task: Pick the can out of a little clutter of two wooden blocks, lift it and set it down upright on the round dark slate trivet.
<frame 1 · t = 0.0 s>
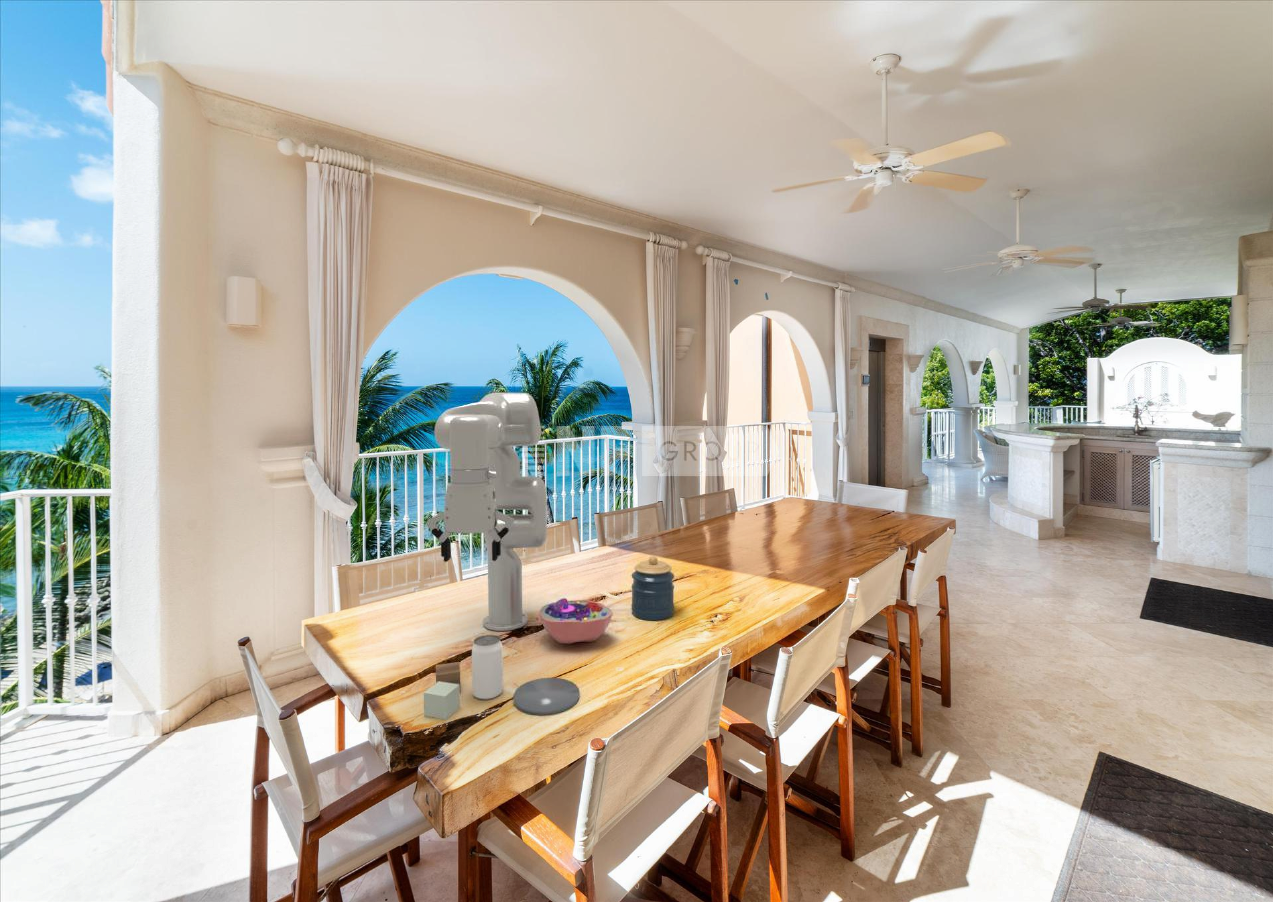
hand: (471, 559, 116), 31 cm above the table, fingers open, 9 cm apart
sage block: (442, 711, 116), on the table
walnut block: (448, 690, 125), on the table
can: (487, 693, 124), on the table
trivet: (546, 697, 122), on the table
canister: (652, 613, 172), on the table
cell model: (575, 641, 152), on the table
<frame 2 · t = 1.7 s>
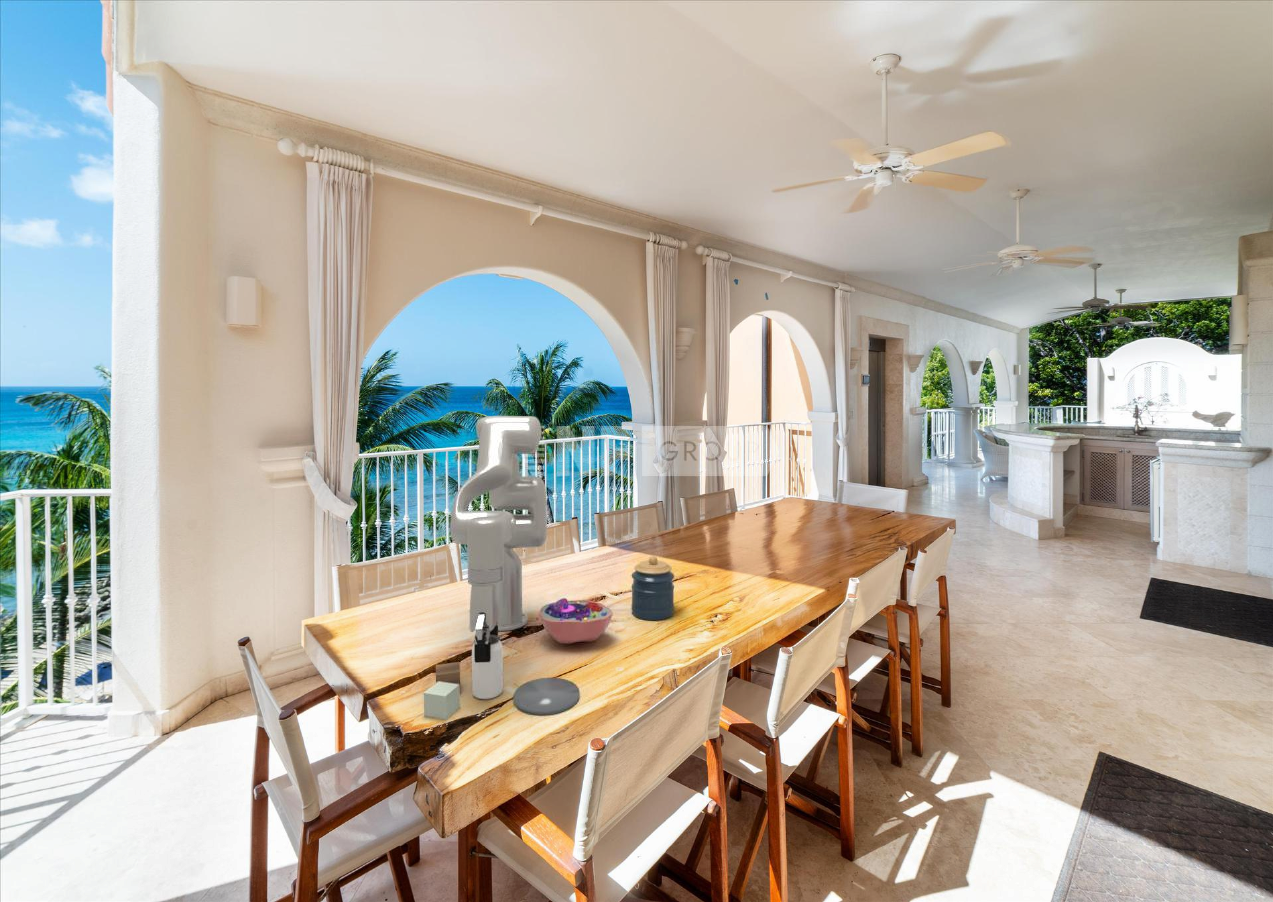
hand: (486, 652, 123), 9 cm above the table, fingers open, 9 cm apart
nothing on the table moved.
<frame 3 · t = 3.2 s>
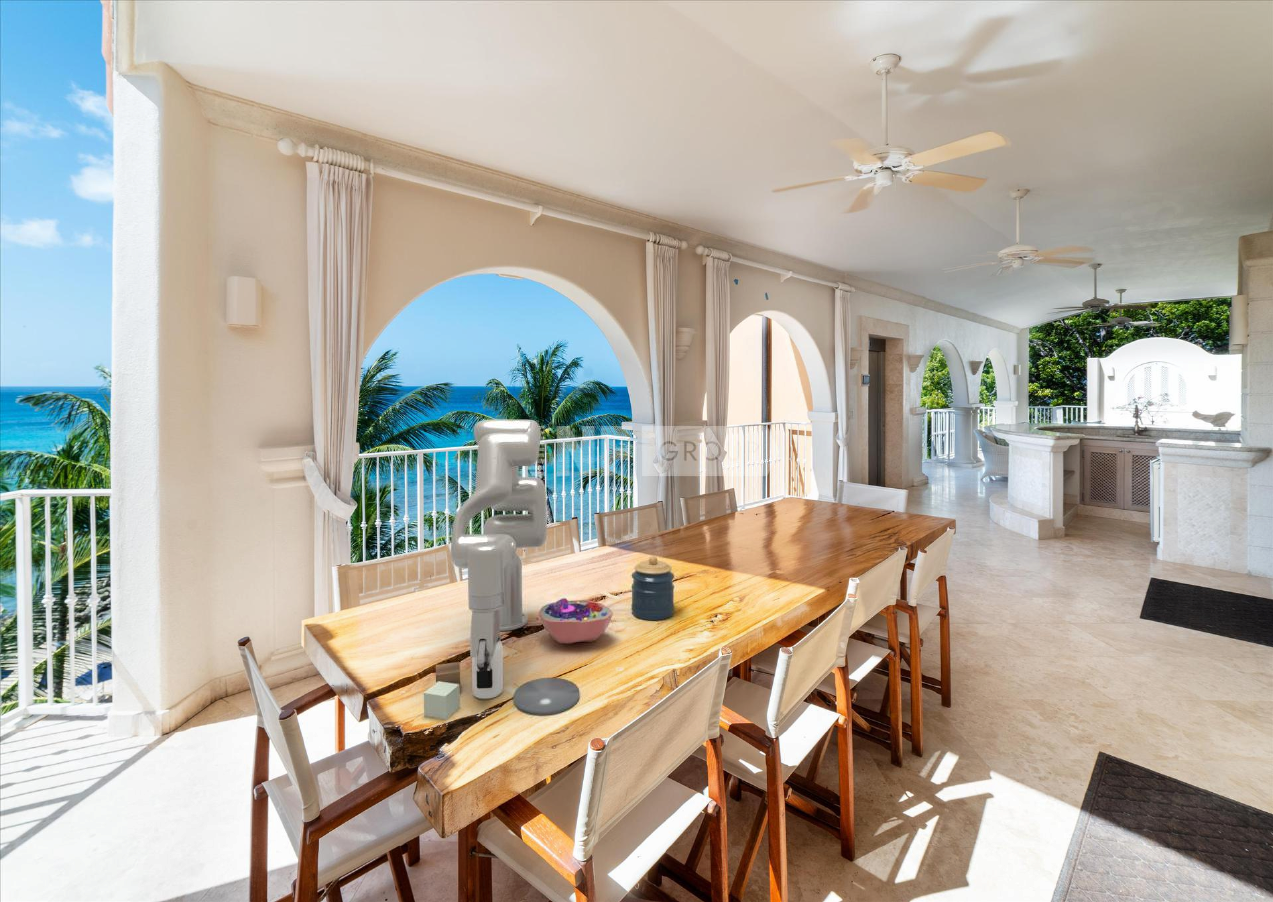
hand: (487, 678, 124), 3 cm above the table, fingers closed on can, 6 cm apart
can: (488, 693, 124), on the table, touching gripper
everything else where it was.
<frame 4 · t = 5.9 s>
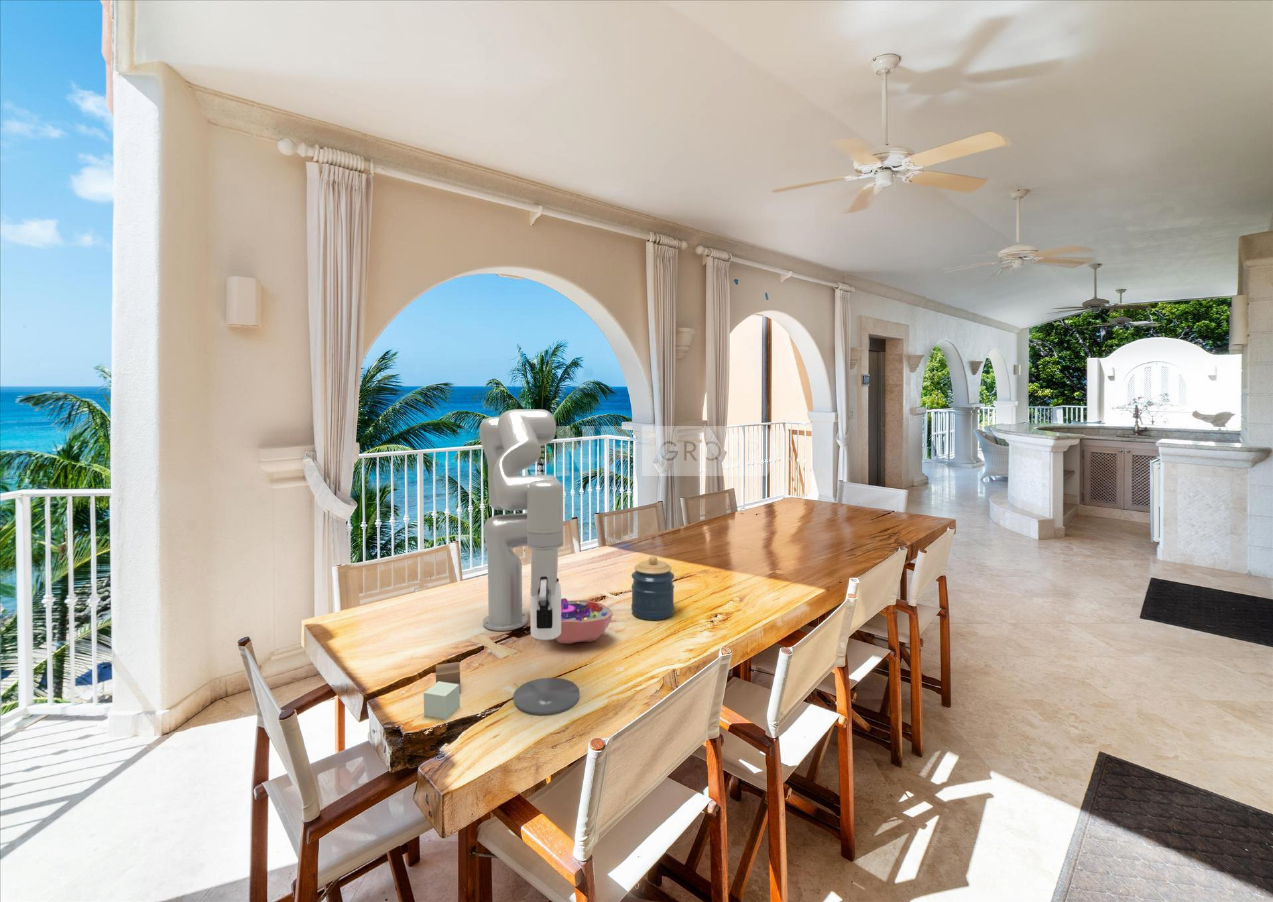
hand: (546, 620, 121), 17 cm above the table, fingers closed on can, 6 cm apart
can: (546, 635, 121), point 14 cm above the table, touching gripper
everything else where it was.
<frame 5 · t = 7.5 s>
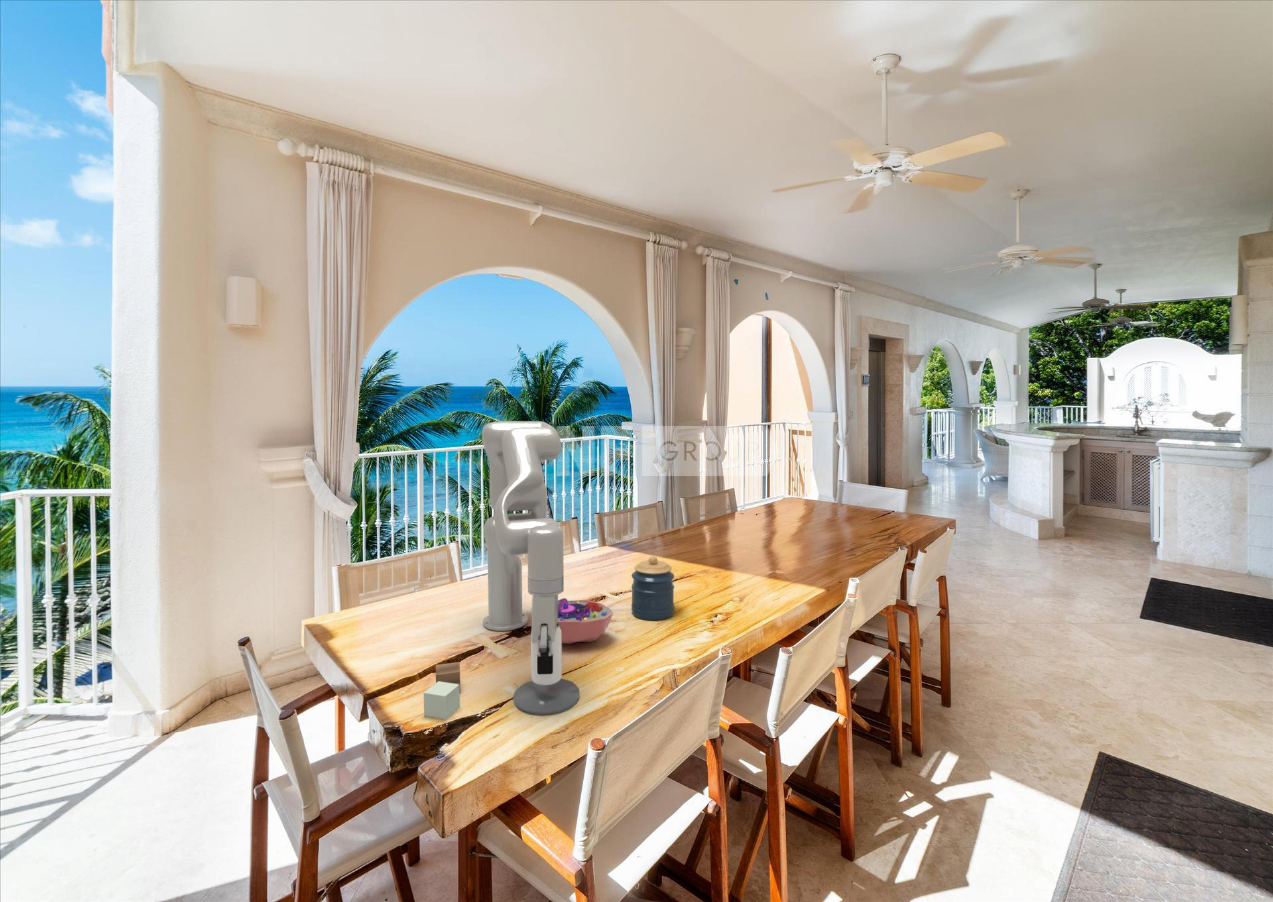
hand: (546, 664, 122), 7 cm above the table, fingers closed on can, 6 cm apart
can: (546, 680, 122), point 4 cm above the table, touching gripper
everything else where it was.
when the fingers open (6 cm above the table, at t = 8.7 s): can drops 2 cm, resting on trivet.
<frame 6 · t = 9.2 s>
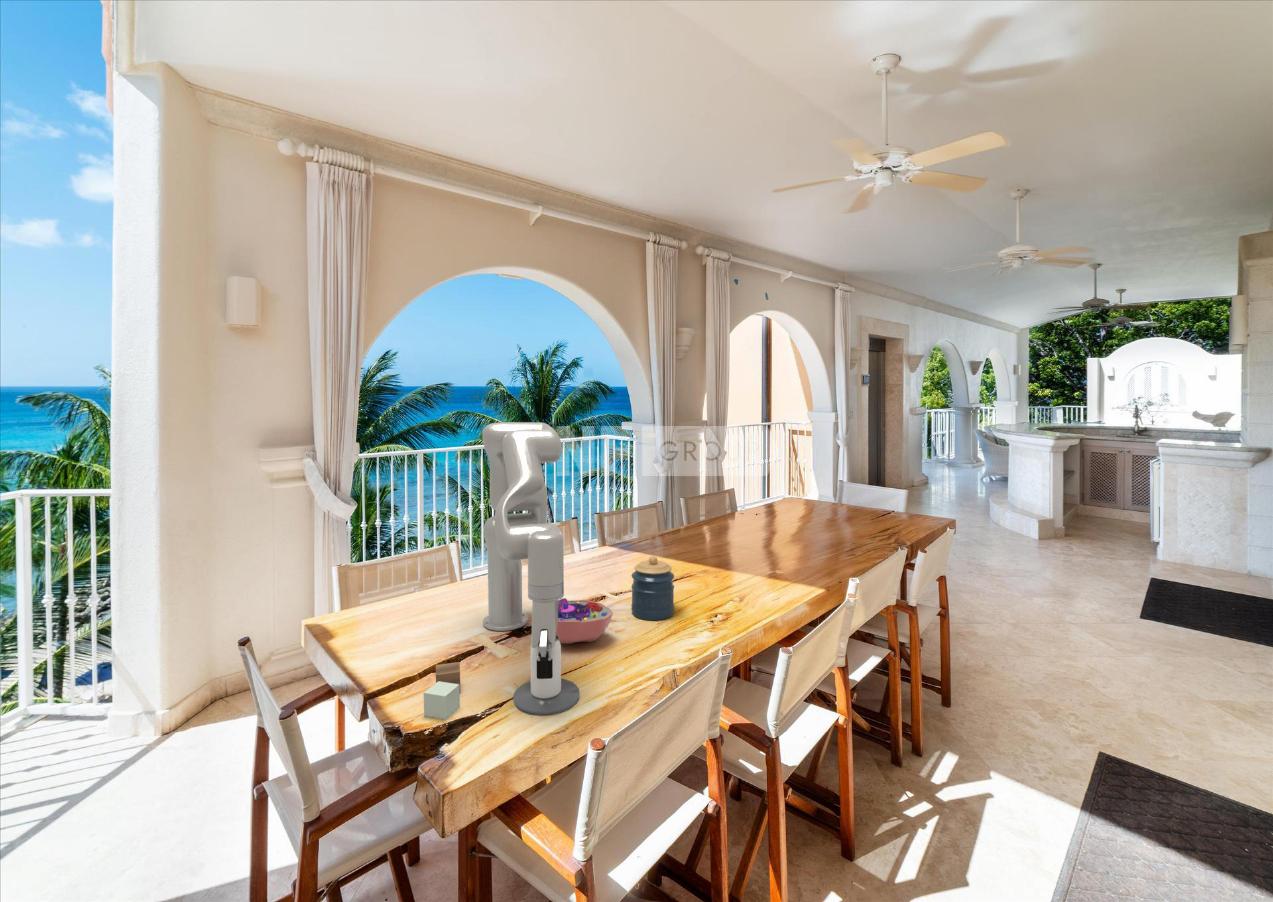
hand: (546, 667, 122), 7 cm above the table, fingers open, 9 cm apart
can: (546, 693, 122), point 1 cm above the table, touching trivet
everything else where it was.
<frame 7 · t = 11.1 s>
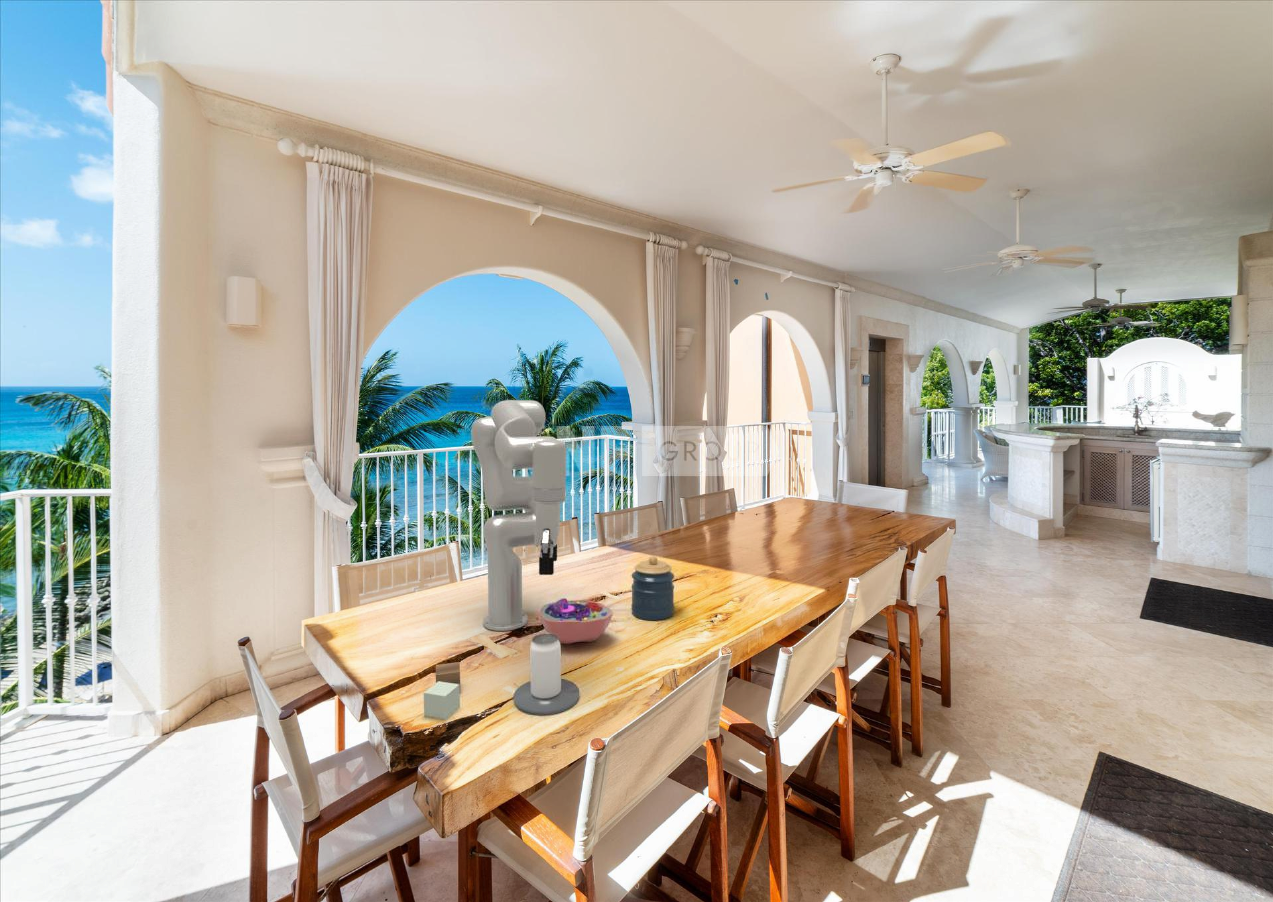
hand: (548, 567, 131), 26 cm above the table, fingers open, 9 cm apart
nothing on the table moved.
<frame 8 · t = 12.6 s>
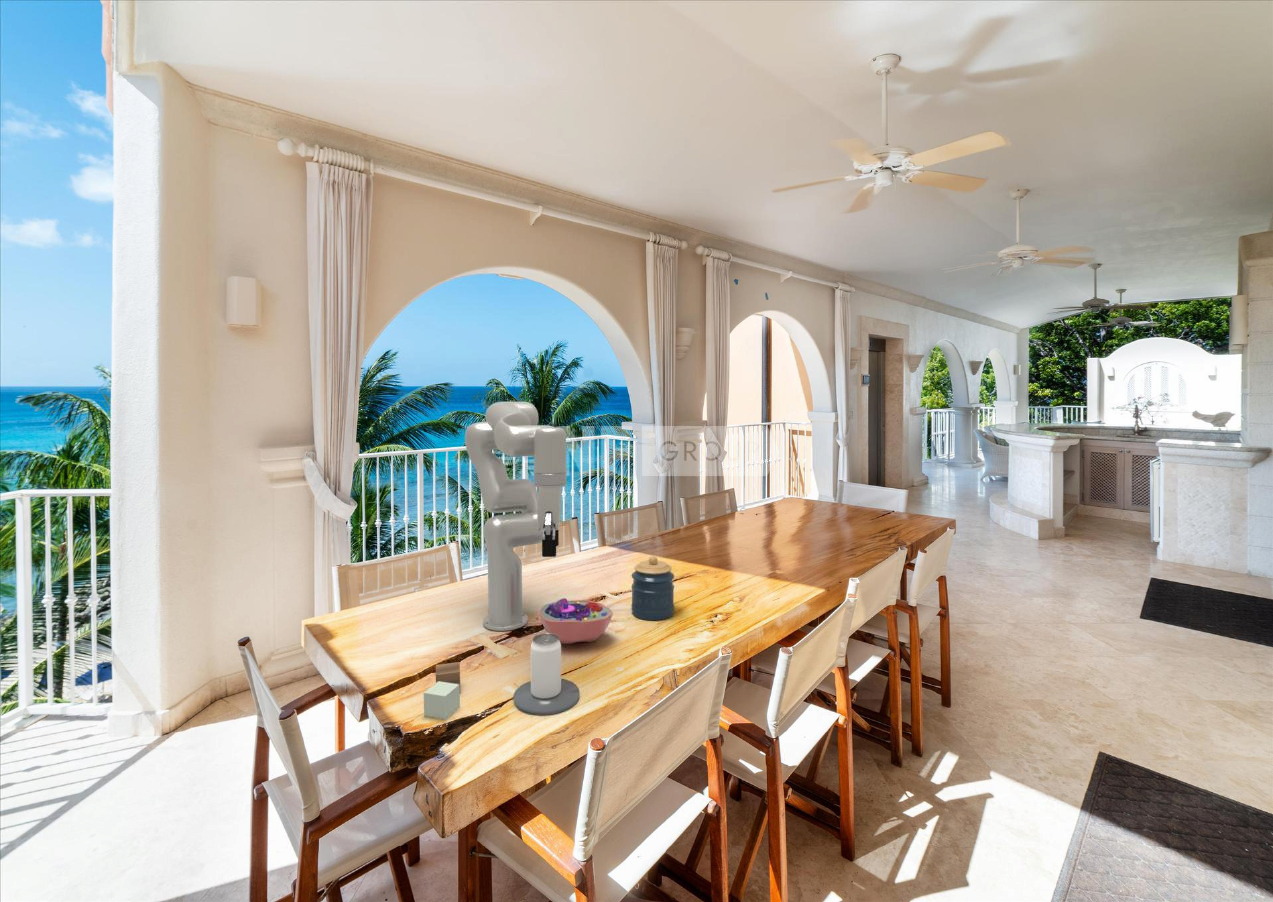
hand: (550, 551, 135), 28 cm above the table, fingers open, 9 cm apart
nothing on the table moved.
at the end: can inside the target area on the trivet (0.4 cm from its centre), point 0.8 cm above the trivet's base; can tilted 0°; the gripper is holding nothing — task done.
